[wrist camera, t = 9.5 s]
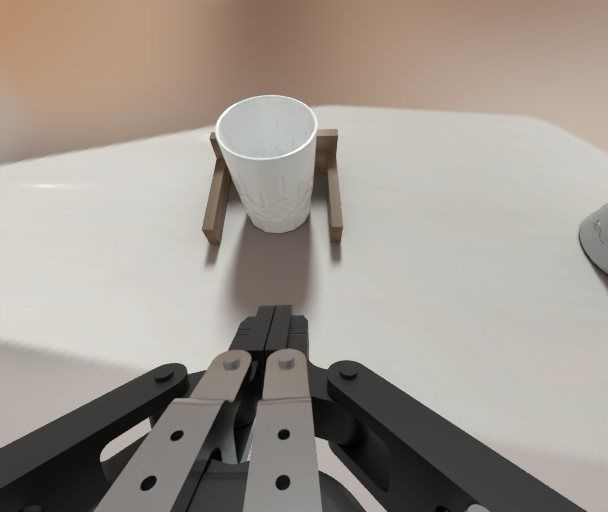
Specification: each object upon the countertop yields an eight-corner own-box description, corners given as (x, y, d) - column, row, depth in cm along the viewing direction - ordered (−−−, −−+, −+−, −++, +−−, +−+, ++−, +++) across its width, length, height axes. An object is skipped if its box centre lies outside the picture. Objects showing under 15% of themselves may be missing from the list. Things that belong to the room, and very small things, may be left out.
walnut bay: (333, 166, 33) (337, 129, 29) (340, 241, 28) (345, 209, 24) (224, 169, 33) (211, 132, 29) (210, 244, 28) (191, 212, 24)
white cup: (250, 247, 28) (223, 170, 19) (236, 190, 32) (208, 105, 23) (325, 227, 29) (332, 146, 20) (303, 175, 33) (301, 87, 24)
